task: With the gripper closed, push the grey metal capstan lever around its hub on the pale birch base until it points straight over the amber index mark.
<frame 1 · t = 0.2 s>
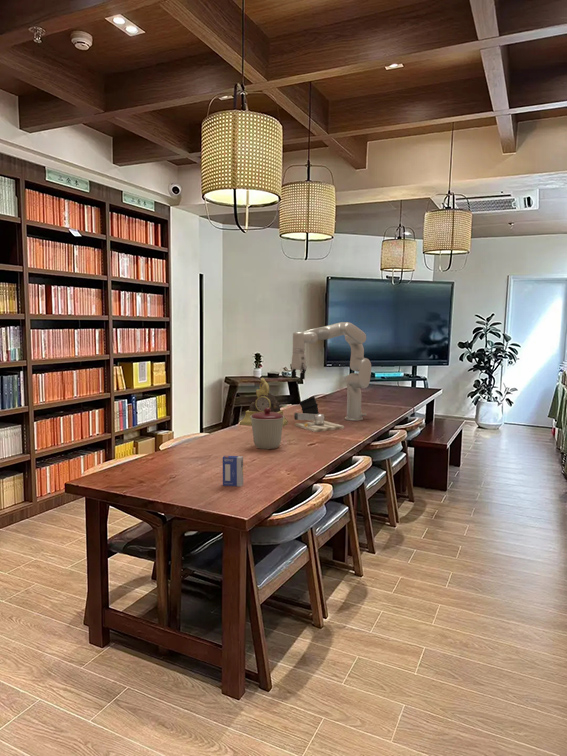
hand: (297, 378, 329), 30 cm above the table, fingers open, 9 cm apart
capstan lever: (309, 418, 329), point 5 cm above the table, hinge at -50.0°
dial base: (319, 427, 328), on the table
decorative clock: (263, 425, 335), on the table
canister: (267, 447, 274), on the table
black box: (308, 417, 362), on the table
walkman: (232, 485, 209), on the table
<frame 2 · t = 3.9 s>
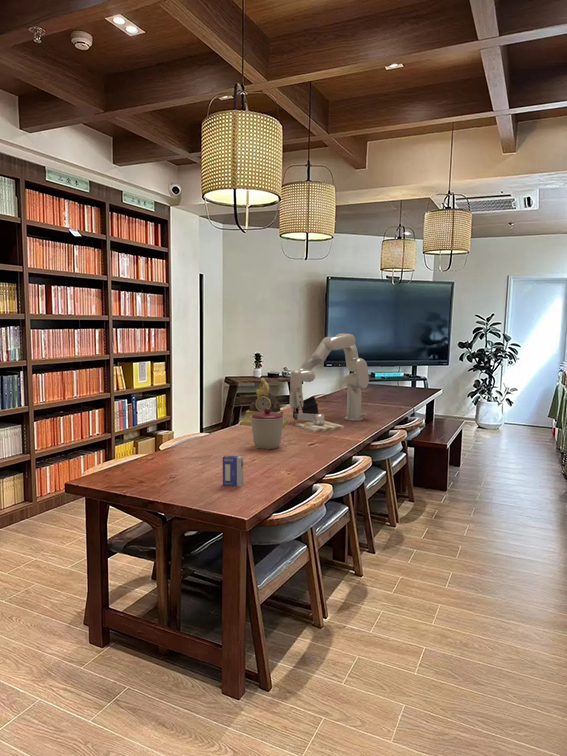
hand: (295, 418, 335), 4 cm above the table, fingers closed
capstan lever: (309, 418, 329), point 5 cm above the table, hinge at -48.0°, touching gripper
everything else where it was.
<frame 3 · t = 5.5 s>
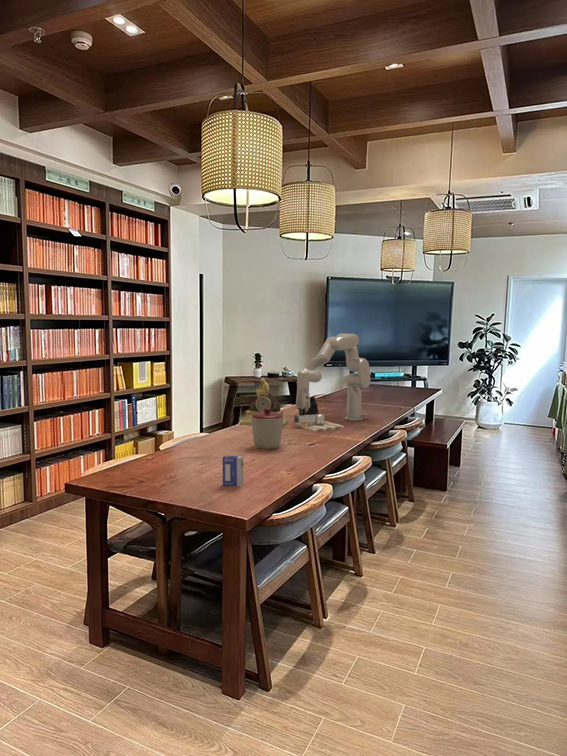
hand: (302, 419, 328), 5 cm above the table, fingers closed
capstan lever: (309, 419, 325), point 5 cm above the table, hinge at -15.6°, touching gripper
everything else where it was.
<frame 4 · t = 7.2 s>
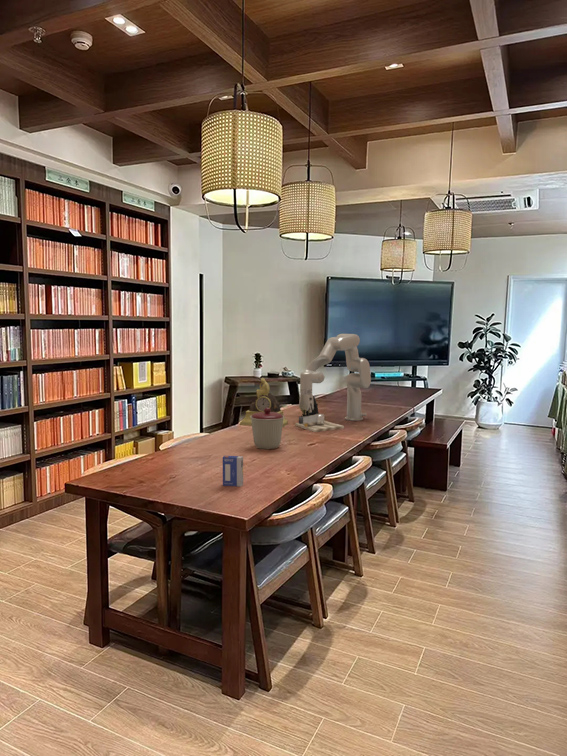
hand: (305, 420, 326), 4 cm above the table, fingers closed
capstan lever: (311, 420, 323), point 5 cm above the table, hinge at 5.7°
everything else where it was.
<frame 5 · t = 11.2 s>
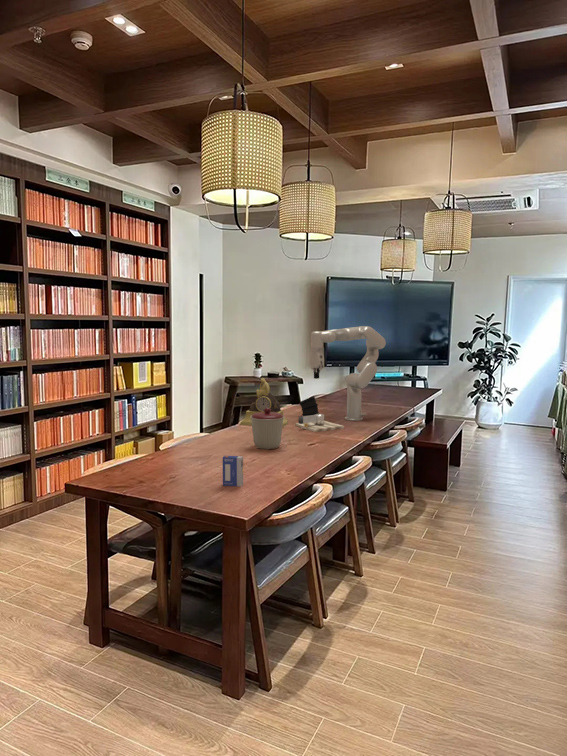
hand: (316, 378, 342), 29 cm above the table, fingers closed
nothing on the table moved.
at the end: capstan lever at +6° (first picture: -50°); black box moved 0.2 cm from its start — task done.
